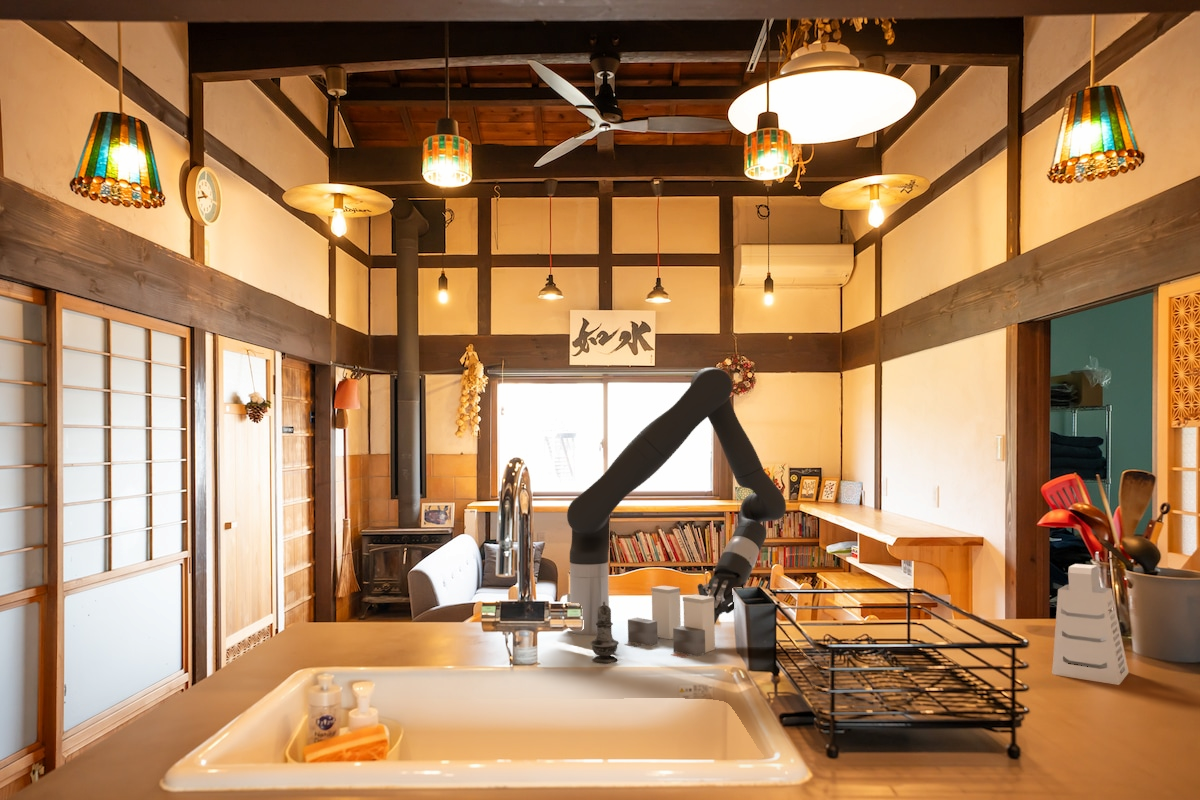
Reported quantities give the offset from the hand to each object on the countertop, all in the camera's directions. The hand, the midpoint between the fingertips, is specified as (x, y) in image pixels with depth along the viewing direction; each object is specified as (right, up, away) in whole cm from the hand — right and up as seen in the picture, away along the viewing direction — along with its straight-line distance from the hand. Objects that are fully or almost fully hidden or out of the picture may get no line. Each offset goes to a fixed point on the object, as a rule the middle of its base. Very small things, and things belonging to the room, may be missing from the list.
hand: (706, 625), depth 159 cm
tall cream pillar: (-8, -5, +10) cm, 14 cm away
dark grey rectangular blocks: (-5, -6, +3) cm, 9 cm away
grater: (+70, -4, -19) cm, 73 cm away
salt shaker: (-22, -6, -5) cm, 23 cm away
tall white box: (-2, -4, -2) cm, 5 cm away
